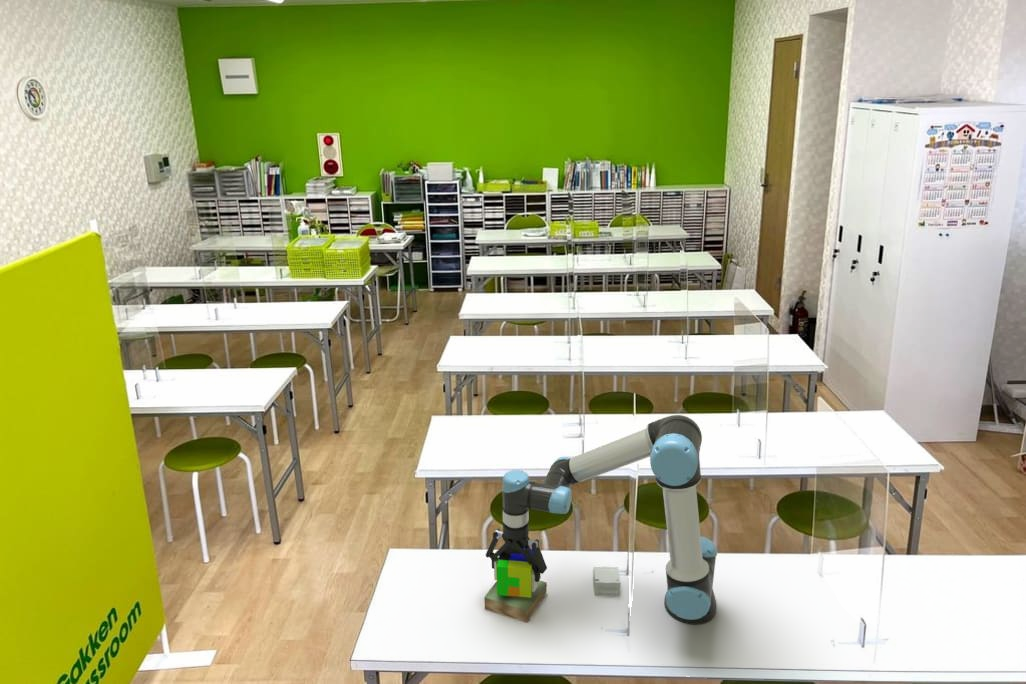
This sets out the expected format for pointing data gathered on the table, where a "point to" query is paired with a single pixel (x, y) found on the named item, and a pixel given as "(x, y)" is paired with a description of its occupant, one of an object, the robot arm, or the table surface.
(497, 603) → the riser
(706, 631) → the table surface
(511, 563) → the puzzle toy
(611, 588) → the small box
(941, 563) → the table surface
